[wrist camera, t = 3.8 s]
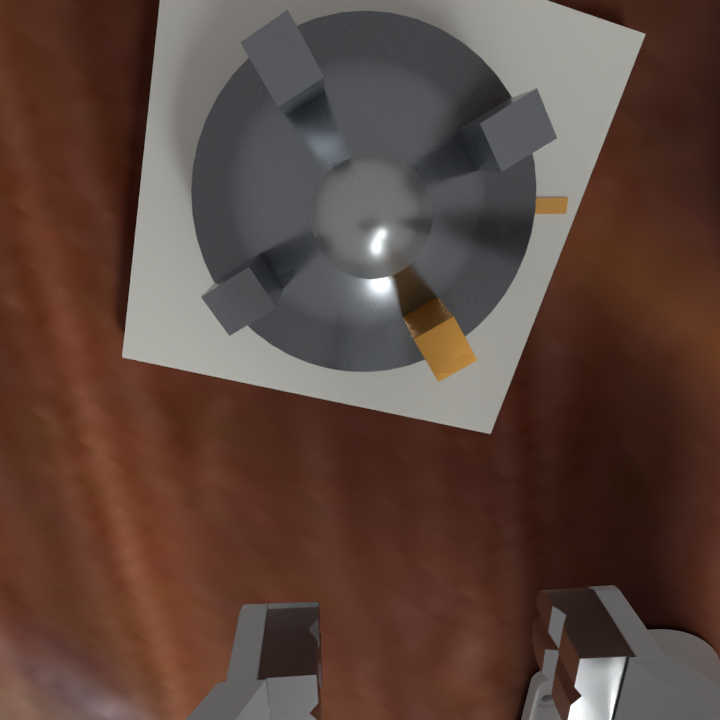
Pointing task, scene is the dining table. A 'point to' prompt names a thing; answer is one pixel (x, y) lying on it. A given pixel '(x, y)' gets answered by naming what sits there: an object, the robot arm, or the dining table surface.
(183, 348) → the base plate
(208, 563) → the dining table surface
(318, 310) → the lathe chuck
